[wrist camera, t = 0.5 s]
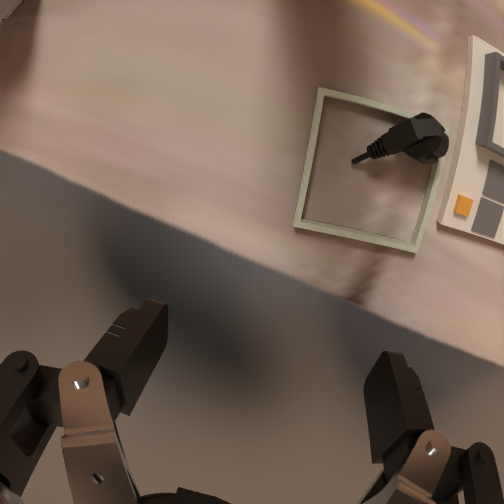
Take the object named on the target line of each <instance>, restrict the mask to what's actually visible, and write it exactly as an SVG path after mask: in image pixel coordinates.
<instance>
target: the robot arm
mask: <svg viewBox="0 0 504 504" xmlns="http://www.w3.org/2000/svg"><path fill="white" fill-rule="evenodd" d="M167 340H168V305H167V304H165V303H162V302H158V301H155V300H151V299H147V300H146V301H145V302H144V303H143V305H142V306H141V307H140V309H139V310H137V309H134V308H131V309H129V310H127V311H125V312H124V313H122V314H120V316H119V317H118V318H117V319H116V320H115V322H114V323H113V325H112V326H110V328H109V329H108V330H107V333H105V334H104V335H103V337H102V338H101V339H100V340H99V342H98V343H97V344H96V345H95V347H94V348H93V349H92V351H91V352H90V353H89V355H88V356H87V357H86V358H85V360H84V361H76V362H72V363H70V364H68V365H66V366H65V367H64V368H63V369H59V368H54V367H48V366H42V365H39V363H38V361H37V358H36V357H35V356H34V355H33V354H32V353H30V352H28V351H16V352H13V353H11V354H10V355H8V356H7V357H6V358H5V360H4V361H3V362H2V363H1V364H0V504H24V502H23V501H22V499H21V495H22V493H23V491H24V489H25V487H26V485H27V483H28V481H29V478H30V476H31V474H32V472H33V470H34V468H35V466H36V464H37V463H38V460H39V459H40V457H41V455H42V453H43V451H44V449H45V447H46V445H47V443H48V442H49V440H50V438H51V436H52V434H53V432H54V430H55V429H56V427H57V426H59V427H64V436H62V437H61V447H62V453H63V458H64V463H65V468H66V473H67V477H68V482H69V485H70V489H71V493H72V497H73V500H74V504H231V503H228V502H226V501H224V500H222V499H219V498H217V497H215V496H210V495H206V494H202V493H199V492H194V491H191V490H187V489H184V488H180V487H178V489H177V493H154V494H148V495H144V496H141V495H140V492H139V490H138V487H137V485H136V482H135V480H134V478H133V475H132V472H131V470H130V467H129V464H128V462H127V459H126V456H125V452H124V449H123V446H122V443H121V440H120V436H119V433H118V429H117V426H116V422H115V420H116V418H117V417H118V415H119V413H120V412H121V413H123V414H126V415H128V416H130V414H131V412H132V410H133V408H134V406H135V404H136V402H137V401H138V398H139V397H140V395H141V393H142V391H143V389H144V387H145V385H146V384H147V382H148V380H149V378H150V376H151V374H152V372H153V370H154V368H155V367H156V364H157V363H158V361H159V359H160V357H161V356H162V354H163V352H164V350H165V347H166V344H167ZM424 398H425V395H424V392H423V390H422V386H421V383H420V380H419V377H418V376H417V375H416V373H415V372H414V371H413V369H412V368H410V367H408V366H407V363H406V360H405V357H404V355H403V354H402V353H397V352H389V351H383V352H382V353H381V355H380V356H379V358H378V360H377V362H376V363H375V365H374V367H373V368H372V370H371V371H370V373H369V375H368V377H367V378H366V381H365V384H364V399H365V406H366V414H367V421H368V429H369V438H370V447H371V456H372V463H383V466H384V469H383V470H381V471H380V473H379V474H378V475H377V477H376V478H375V480H374V481H373V482H372V484H371V485H370V487H369V488H368V489H367V491H366V492H365V493H364V494H363V496H362V497H361V498H360V500H359V501H358V502H357V503H356V504H459V500H458V493H460V492H461V491H464V499H465V504H504V499H503V494H502V489H501V484H500V479H499V475H498V471H497V466H496V462H495V458H494V454H493V452H492V450H491V449H490V448H489V447H488V446H487V445H486V444H484V443H481V442H477V443H474V444H473V445H471V446H470V447H469V448H468V449H467V450H464V449H461V448H457V447H452V446H451V445H450V442H449V440H448V438H447V437H446V436H445V435H444V434H443V433H441V432H439V431H437V430H435V429H434V426H433V423H432V419H431V415H430V412H429V409H428V405H427V402H426V399H424Z"/></svg>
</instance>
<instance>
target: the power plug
mask: <svg viewBox="0 0 504 504" xmlns="http://www.w3.org/2000/svg"><path fill="white" fill-rule="evenodd" d="M444 131H446V130H445V128H444V127H443V126H442V125H441V124H440V123H439V122H438V121H437V120H436V119H435V118H434V117H433V116H431V115H429V114H427V113H420V114H418V115H416V116H414V117H412V118H409V119H407V120H405V121H403V122H401V123H399V124H397V125H395V126H394V127H392V128H390V129H389V131H388V132H387V133H385V134H383V135H382V136H381V138H378V139H377V140H378V141H377V140H375V141H374V143H372V144H371V145H369V146H368V147H367V148H366V149H367V152H366V153H364V154H362V155H360V156H358V157H356V158H354V159H352V163H353V164H356V163H358V162H360V161H362V160H364V159H367V158H372V159H377V158H381V157H385V156H386V155H387V156H389V155H390V154H391V155H393V154H396V153H399V152H404V153H406V154H407V155H408V156H410V157H412V158H413V159H415V160H417V161H419V162H421V163H423V164H427V163H429V162H430V163H432V164H434V163H437V162H439V160H438V159H440V158H441V157H444V156H445V154H446V153H447V150H448V146H449V138H448V135H447V134H446V133H445V132H444Z"/></svg>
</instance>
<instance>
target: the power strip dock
mask: <svg viewBox="0 0 504 504" xmlns="http://www.w3.org/2000/svg"><path fill="white" fill-rule="evenodd" d="M437 221H438V222H439V223H440V224H442V225H445V226H448V227H452V228H455V229H458V230H461V231H465V232H468V233H471V234H474V235H477V236H480V237H483V238H486V239H489V240H492V241H495V242H498V243H501V244H504V53H502V52H501V51H499V50H498V49H496V48H495V47H493V46H491V45H490V44H488V43H486V42H485V41H483V40H481V39H480V38H478V37H476V36H474V35H471V36H469V37H468V51H467V69H466V81H465V90H464V99H463V107H462V114H461V120H460V126H459V132H458V138H457V143H456V148H455V153H454V157H453V162H452V166H451V171H450V175H449V179H448V183H447V187H446V190H445V194H444V198H443V201H442V205H441V208H440V211H439V215H438V218H437Z"/></svg>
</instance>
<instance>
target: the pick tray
mask: <svg viewBox="0 0 504 504" xmlns="http://www.w3.org/2000/svg"><path fill="white" fill-rule="evenodd" d="M324 96H326V97H330V98H335V99H339V100H343V101H347V102H351V103H355V104H359V105H363V106H367V107H370V108H374V109H377V110H381V111H384V112H387V113H390V114H394V115H397V116H400V117H403V118H406V119H409V118H412V117H414V116H416V115H417V114H414V113H411V112H408V111H405V110H402V109H399V108H396V107H393V106H390V105H387V104H384V103H380V102H377V101H374V100H370V99H366V98H363V97H359V96H355V95H351V94H347V93H343V92H339V91H335V90H330V89H326V88H321V87H318V91H317V97H316V103H315V109H314V115H313V120H312V126H311V132H310V137H309V143H308V148H307V154H306V159H305V165H304V170H303V175H302V180H301V186H300V191H299V196H298V201H297V206H296V211H295V216H294V221H293V227H298V228H303V229H308V230H313V231H318V232H323V233H327V234H332V235H337V236H342V237H346V238H351V239H356V240H360V241H365V242H370V243H374V244H379V245H383V246H388V247H392V248H396V249H401V250H405V251H409V252H414V253H417V252H418V249H419V247H420V244H421V241H422V238H423V235H424V232H425V229H426V225H427V222H428V219H429V216H430V213H431V209H432V206H433V202H434V199H435V195H436V191H437V188H438V184H439V180H440V176H441V172H442V167H443V163H444V159H445V156H444V157H441V158H440V159H438V160H439V162H437V163H434V164H433V166H432V170H431V174H430V178H429V182H428V186H427V190H426V194H425V197H424V201H423V204H422V208H421V211H420V215H419V218H418V221H417V225H416V228H415V231H414V234H413V237H412V240H411V243H410V242H406V241H402V240H398V239H393V238H389V237H385V236H381V235H376V234H372V233H368V232H363V231H359V230H354V229H350V228H345V227H340V226H336V225H331V224H326V223H321V222H317V221H312V220H307V219H302V218H301V216H302V212H303V207H304V202H305V197H306V192H307V187H308V182H309V177H310V172H311V167H312V162H313V157H314V151H315V146H316V140H317V135H318V129H319V124H320V118H321V112H322V106H323V101H324ZM441 125H442V126H443V127H444V128H445V130H446V131H444V132H445V133H446V134H447V135H448V138H449V134H450V127H448V126H445V125H443V124H441Z"/></svg>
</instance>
